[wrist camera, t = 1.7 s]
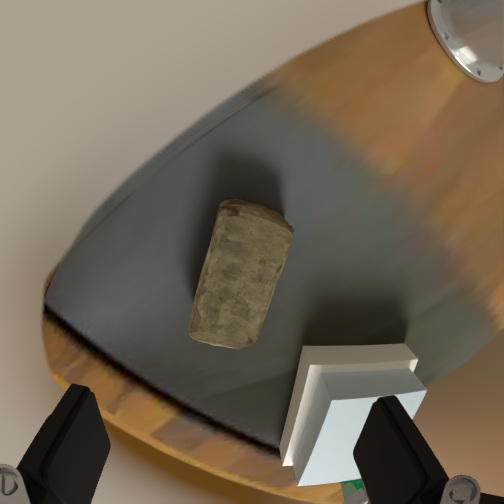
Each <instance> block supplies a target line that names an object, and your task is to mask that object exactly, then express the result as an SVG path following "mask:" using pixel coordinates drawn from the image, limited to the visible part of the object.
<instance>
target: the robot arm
mask: <svg viewBox="0 0 504 504" xmlns="http://www.w3.org/2000/svg"><path fill="white" fill-rule="evenodd" d="M427 13H428V19H429V22H430V25H431V28H432V30H433V32H434V34H435V36H436V38H437V40H438V41H439V43H440V45H441V46H442V48H443V49H444V51H445V52H446V53H447V55H448V56H449V57H450V58H451V59H452V61H453V62H454V63H455V64H456V65H457V66H458V67H459V68H460V69H461V70H462V71H463V72H465V73H466V74H467V75H468V76H470V77H472V78H473V79H475V80H477V81H480V82H482V83H491V82H495V81H497V80H499V79H500V78H501V77H502V75H503V73H504V0H429V1H428V4H427ZM110 446H111V445H110V440H109V437H108V434H107V432H106V429H105V426H104V423H103V420H102V417H101V414H100V411H99V408H98V404H97V401H96V398H95V395H94V393H93V392H91V391H90V389H89V388H88V387H86V386H82V385H77V384H71V385H70V387H69V388H68V390H67V391H66V393H65V394H64V396H63V397H62V399H61V400H60V402H59V403H58V405H57V407H56V408H55V409H54V411H53V412H52V414H51V415H49V416H48V418H47V419H46V420H45V422H44V424H43V425H42V427H41V428H40V430H39V432H38V433H37V435H36V436H35V438H34V440H33V441H32V443H31V445H30V446H29V448H28V450H27V451H26V453H25V454H24V456H23V458H22V460H21V461H20V463H19V465H18V467H17V468H14V467H12V466H10V465H7V464H0V504H91V501H92V498H93V496H94V493H95V489H96V487H97V484H98V481H99V478H100V476H101V473H102V470H103V467H104V465H105V462H106V459H107V457H108V454H109V451H110ZM353 457H354V460H355V463H356V465H357V468H358V470H359V473H360V476H361V478H362V481H363V483H364V486H365V488H366V491H367V494H368V496H369V499H370V502H371V504H504V497H500V496H495V495H490V494H485V493H481V490H480V486H479V484H478V483H477V481H476V480H475V479H473V478H472V477H470V476H467V475H457V476H454V477H453V478H451V479H449V477H448V476H447V474H446V472H445V471H444V469H443V467H442V466H441V464H440V463H439V461H438V459H437V458H436V456H435V455H434V453H433V452H432V450H431V448H430V447H429V445H428V444H427V442H426V441H425V439H424V438H423V436H422V435H421V433H420V431H419V430H418V428H417V427H416V425H415V424H414V422H413V420H412V419H411V417H410V416H409V414H408V413H407V411H406V410H405V408H404V407H403V405H402V404H401V402H400V401H399V399H398V398H397V397H396V396H395V395H390V396H383V397H379V398H378V399H377V401H376V402H374V403H373V404H372V406H371V409H370V412H369V414H368V417H367V419H366V421H365V424H364V426H363V429H362V431H361V433H360V435H359V438H358V440H357V442H356V444H355V447H354V449H353Z"/></svg>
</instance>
